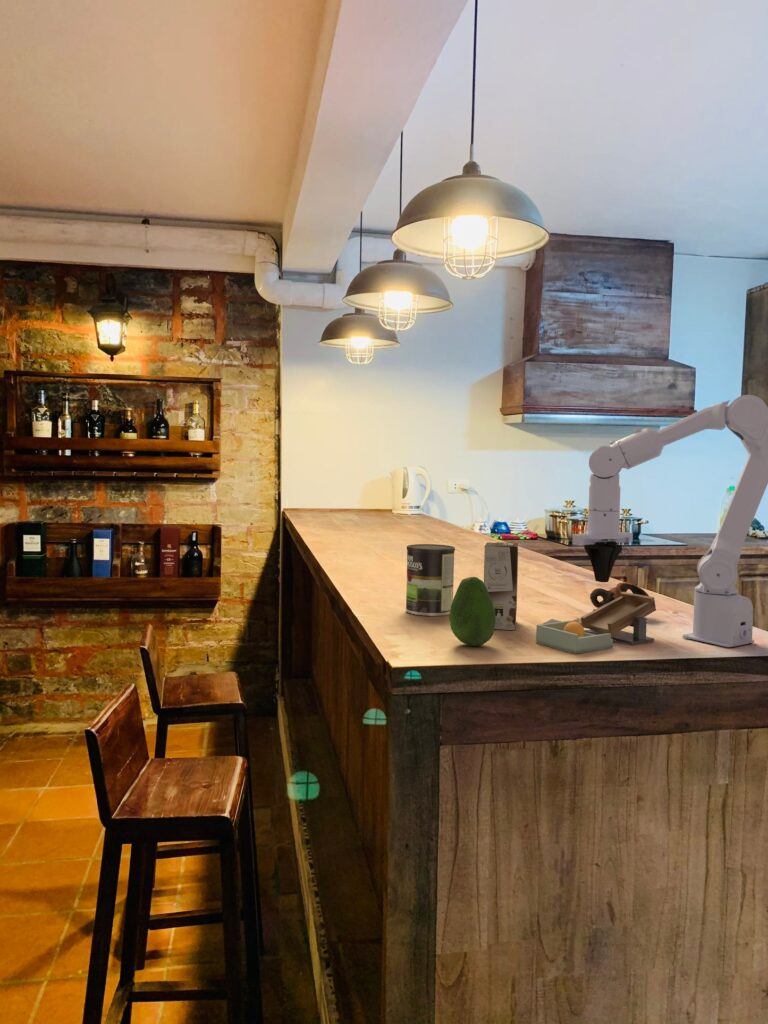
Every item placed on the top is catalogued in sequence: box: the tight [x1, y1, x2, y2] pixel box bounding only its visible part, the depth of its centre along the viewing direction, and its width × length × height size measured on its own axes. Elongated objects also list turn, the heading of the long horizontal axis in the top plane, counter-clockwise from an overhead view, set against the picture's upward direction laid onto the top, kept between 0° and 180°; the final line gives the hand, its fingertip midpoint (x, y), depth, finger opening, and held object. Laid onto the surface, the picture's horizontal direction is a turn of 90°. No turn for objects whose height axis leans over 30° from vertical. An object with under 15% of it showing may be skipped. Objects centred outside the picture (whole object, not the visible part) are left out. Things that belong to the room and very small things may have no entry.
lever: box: [542, 591, 657, 635], centre depth 139 cm, size 14×16×4 cm
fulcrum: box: [584, 608, 655, 646], centre depth 138 cm, size 11×6×4 cm, turn 32°
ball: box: [564, 622, 585, 638], centre depth 131 cm, size 4×4×4 cm
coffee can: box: [405, 543, 456, 617], centre depth 160 cm, size 10×10×14 cm
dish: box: [535, 620, 614, 655], centre depth 131 cm, size 9×9×3 cm
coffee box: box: [483, 541, 519, 631], centre depth 147 cm, size 9×6×16 cm
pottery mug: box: [589, 582, 650, 609], centre depth 157 cm, size 12×10×8 cm
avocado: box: [448, 576, 496, 647], centre depth 129 cm, size 8×8×12 cm
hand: (601, 581), depth 143 cm, fingers closed
